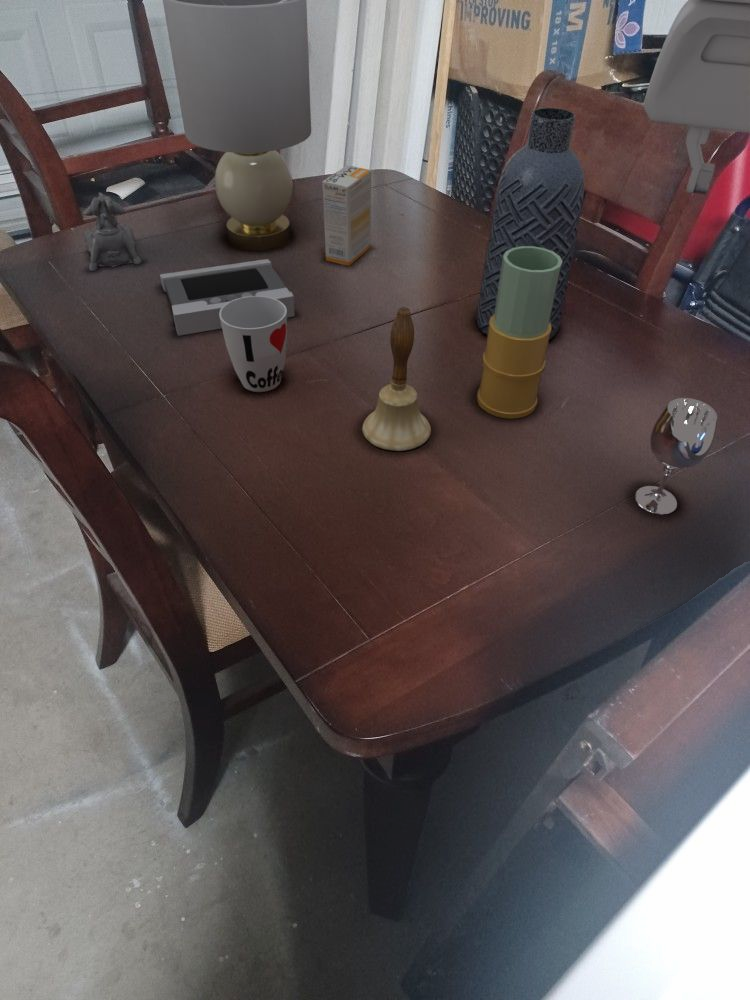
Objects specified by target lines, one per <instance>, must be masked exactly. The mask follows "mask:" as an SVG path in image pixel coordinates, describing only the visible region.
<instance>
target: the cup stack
mask: <svg viewBox="0 0 750 1000" xmlns="http://www.w3.org/2000/svg"><path fill="white" fill-rule="evenodd" d="M550 333H551V324H550V323H549V326H548V329H547V331H546V332H545V333H544V334H542V335H540V336H538V337H534V338H517V337H513V336H509V335H506V334H504V333H502V332H501V331H499V330H498V329H497V328H496V327H495V325H494V315H493V316H492V317H491V318H490V321H489V328H488V335H486V342H485V343H486V344H485V350H484V351H483V354H482V360H481V365H482V371H481V378H480V382H479V383H480V384H479V388H478V390H477V393H476V394H477V395H476V401H477V404H478V406H479V407H480V408H481V409H482V410H483V411H485V412H486V413H487V414H490V415H491V416H494V417H497V418H501V419H510V420H515V419H521V418H524V417H527V416H529V415H531V414H532V413H533V412H534V411H535V410H536V409H537V405H538V400H539V399H538V393H539V388H540V384H541V380H542V375H543V373H544V372H545V369H546V365H547V364H546V357H547V351H548V346H549V341H550V339H549V338H550Z"/></svg>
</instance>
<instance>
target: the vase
mask: <svg viewBox="0 0 750 1000" xmlns="http://www.w3.org/2000/svg"><path fill="white" fill-rule="evenodd" d="M575 121H576V114H575V113H574V112H573V111H570V110H567V109H564V108H556V107H541V108H537V109H534V110H533V111H532V112H531V116H530V123H529V130H528V136H527V143H526V144H524V145H523V146H522V147H521V148H519V149H517V151H516V152H514V153H513V154H512V155H511V156H510V158H509V159H508V160H507V162H506V163H505V166H504V168H503V169H502V171H501V174H500V178H499V180H498V184H497V189H496V194H495V200H494V206H493V212H492V218H491V224H490V230H489V237H488V241H487V242H488V243H487V247H486V253H485V260H484V265H483V266H484V267H483V272H482V277H481V283H480V289H479V295H478V301H477V307H476V308H477V309H476V314H475V315H476V316H475V317H476V322H477V326H478V328H479V330H480V331H481V332H482V333H483V334H485V336H487V335H488V328H489V321H490V318H491V317H492V316H493V315H494V314H495V307H496V300H497V294H498V287H499V280H500V274H501V267H502V260H503V255H504V254H505V252H506V251H508V250H510V249H511V248H515V247H520V246H535V247H540V248H545V249H548V250H550V251H553V252H555V253H556V254H558V255H559V256H560V257H561V259H562V266H561V271H560V276H559V281H558V285H557V290H556V295H555V299H554V304H553V309H552V314H551V318H550V324H551V333H550V338H549V340H551V339H553V338H554V336H556V334H557V332H558V331H559V329H560V326H561V322H562V319H563V313H564V308H565V302H566V296H567V291H568V286H569V280H570V276H571V275H570V274H571V268H572V264H573V259H574V258H573V257H574V252H575V246H576V241H577V236H578V231H579V225H580V221H581V214H582V209H583V203H584V198H585V197H584V195H585V172H584V168H583V165H582V163H581V161H580V159H579V157H578V156H577V155H576V153H575V152H574V151H573V150H572V149H571V142H572V136H573V131H574V126H575Z"/></svg>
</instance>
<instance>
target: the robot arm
mask: <svg viewBox="0 0 750 1000" xmlns="http://www.w3.org/2000/svg"><path fill="white" fill-rule="evenodd" d="M666 35H667V36H666V37H665V40H664V42H663V45H662V47H661V50H660V52H659V55H658V57H657V60H656V62H655V65H654V69H653V71H652V74H651V77H650V80H649V84H648V87H647V90H646V93H645V98H644V100H643V108H644V111H645V113H646V116H647V118H648V120H649V121H651V122H655V123H661V124H662V123H663V124H670V125H671V124H672V125H679V126H688V130H687V133H686V137H685V138H686V139H685V145H686V151H687V154H688V159H689V164H690V167H691V172H690V175H689V179H688V182H687V184H686V185H687V186H686V189H685V193H689V194H690V193H691V194H699V195H705V196H706V195H708V192H709V188H710V183H711V182H712V180H713V177H714V174H715V167H716V164H715V163H711V162H710V163H709V162H705V161H704V157H703V156H704V155H703V151H702V147H701V145H706V144H707V142H708V139H709V136H710V133H711V130H719V131H729V132H734V133H735V132H737V133H743V134H750V0H687V1H685V3H684V4H683V5H682V7H681V8H680V9H679V11H678V13H677V14H676V16H675V18H674V20H673V22H672V24H671V26H670V28H669V30H668V33H667V34H666Z"/></svg>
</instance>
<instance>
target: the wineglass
mask: <svg viewBox="0 0 750 1000" xmlns="http://www.w3.org/2000/svg"><path fill="white" fill-rule="evenodd" d="M717 422H718V414H717V412H716V411H715V409H714V408H713V407H712V406H710V405H709V404H708V403H706V402H703V401H701V400H699V399H695V398H690V397H679V398H675V399H672V400H671V401H669V402H668V404H667V405H666V406H665V407H664V409H663V410H662V412H661V413H660V415H658V418H657V419H656V421H655V423H654V425H653V427H652V429H651V432H650V437H649V448H650V451H651V453H652V456H653V457H654V458H655V459H656V460H657V461H658V462H659V463H660V464H662V465H664V466H663V468H662V472H663V473H662V476H661V477H662V478H661V481H660V483H659V484H658V486H656V485H644V486H641V487H640V488H638V489H637V490H636V492H635V493H634V499H635V502H636V503H637V505H638V506H639V507H640V508H642V509H643V510H644V511H646V512H648V513H651V514H655V515H660V516H662V515H663V516H664V515H669V514H671V513H673V512H675V511H676V509H677V508H678V501H677V498H676V497H675V496H674V495H673V494H672V492H671V491H669V490H668V489H665V488H664V487H665V485H666V482H667V481H668V479H669V478H670V476H671V475H672V474H673V472H674V471H675V469H677V470H678V469H679V470H686V469H689V468H693V467H695V466H697V465H699V464H701V462H703V461H704V459H705V458H706V457H707V456H708V454H709V452H710V450H711V449H712V446H713V443H714V440H715V435H716V430H717V424H718V423H717Z"/></svg>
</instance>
